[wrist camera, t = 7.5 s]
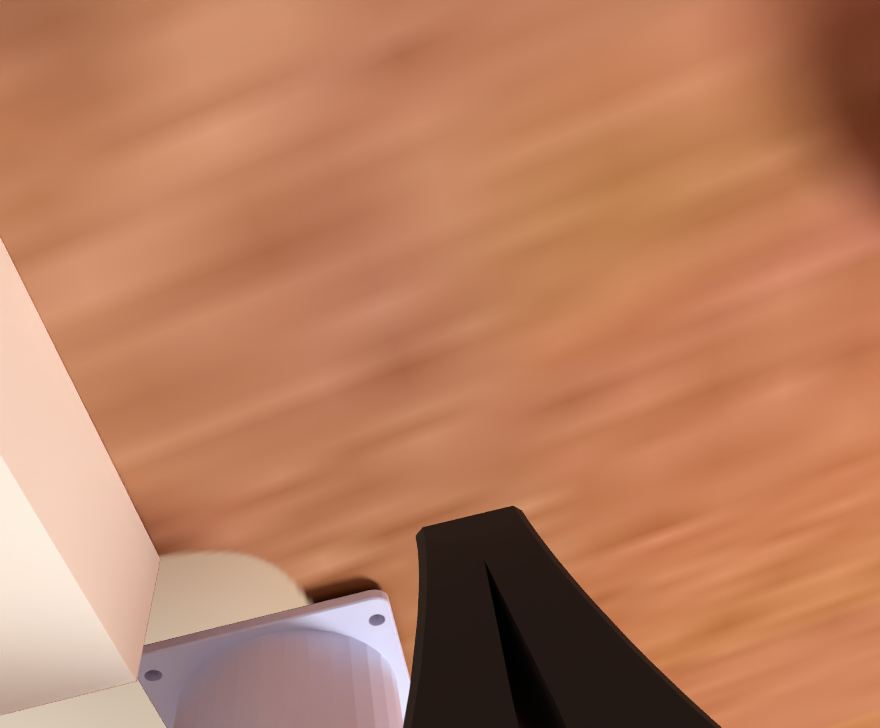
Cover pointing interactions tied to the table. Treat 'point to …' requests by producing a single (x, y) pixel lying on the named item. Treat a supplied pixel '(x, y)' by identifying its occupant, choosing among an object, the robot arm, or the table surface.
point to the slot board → (61, 529)
